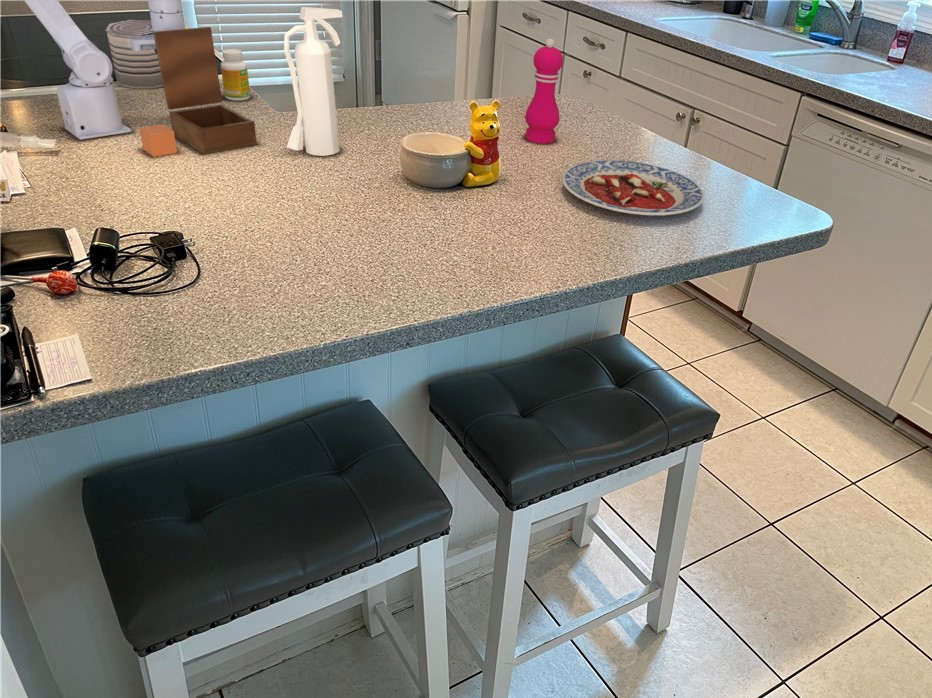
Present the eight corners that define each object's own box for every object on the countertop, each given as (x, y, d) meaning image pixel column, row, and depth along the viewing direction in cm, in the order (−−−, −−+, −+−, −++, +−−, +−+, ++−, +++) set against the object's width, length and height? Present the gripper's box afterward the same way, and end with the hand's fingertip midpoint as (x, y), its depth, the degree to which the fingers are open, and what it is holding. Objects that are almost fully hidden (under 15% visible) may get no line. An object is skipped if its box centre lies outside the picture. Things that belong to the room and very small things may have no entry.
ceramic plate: (589, 228, 128) (591, 211, 126) (543, 172, 148) (544, 156, 146) (727, 223, 135) (731, 206, 133) (665, 170, 155) (668, 155, 153)
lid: (211, 27, 144) (209, 26, 145) (154, 31, 138) (152, 31, 138) (222, 102, 151) (220, 101, 152) (169, 109, 145) (167, 108, 146)
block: (153, 157, 138) (149, 134, 136) (143, 149, 140) (138, 127, 138) (177, 152, 141) (173, 130, 138) (166, 145, 143) (163, 124, 141)
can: (182, 83, 176) (173, 26, 169) (138, 92, 168) (127, 33, 161) (149, 72, 181) (139, 17, 174) (105, 81, 173) (93, 23, 166)
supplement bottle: (246, 102, 169) (240, 55, 163) (221, 99, 168) (215, 52, 163) (253, 95, 173) (248, 49, 167) (229, 93, 173) (223, 47, 167)
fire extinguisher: (280, 148, 147) (266, 4, 132) (340, 142, 152) (333, 3, 138) (292, 160, 142) (279, 12, 128) (353, 153, 148) (348, 10, 134)
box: (257, 144, 147) (254, 121, 145) (204, 154, 141) (200, 130, 139) (224, 126, 154) (221, 104, 152) (173, 135, 148) (169, 111, 146)
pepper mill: (554, 146, 161) (565, 44, 150) (520, 141, 162) (529, 39, 150) (559, 136, 167) (571, 37, 155) (526, 131, 168) (535, 32, 156)
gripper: (135, 17, 137) (150, 96, 144) (213, 12, 145) (223, 86, 153) (119, 10, 140) (134, 87, 148) (195, 5, 149) (206, 78, 157)
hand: (178, 86), depth 151 cm, fingers closed
